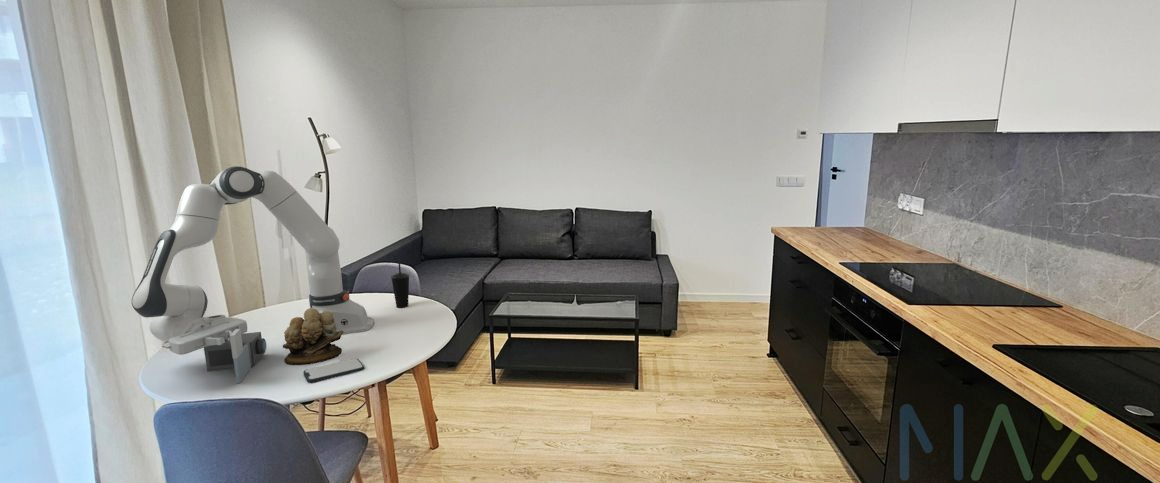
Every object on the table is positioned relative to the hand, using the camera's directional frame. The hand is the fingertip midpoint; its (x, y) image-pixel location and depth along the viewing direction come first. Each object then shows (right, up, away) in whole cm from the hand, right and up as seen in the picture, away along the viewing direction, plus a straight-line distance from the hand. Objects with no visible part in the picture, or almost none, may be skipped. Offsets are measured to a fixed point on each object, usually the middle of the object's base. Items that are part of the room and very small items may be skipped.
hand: (228, 339), depth 151 cm
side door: (+1, -12, +6) cm, 13 cm away
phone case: (+27, -12, +8) cm, 31 cm away
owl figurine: (+16, -10, +19) cm, 27 cm away
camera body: (-7, -10, +15) cm, 19 cm away
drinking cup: (+27, +1, +70) cm, 75 cm away
